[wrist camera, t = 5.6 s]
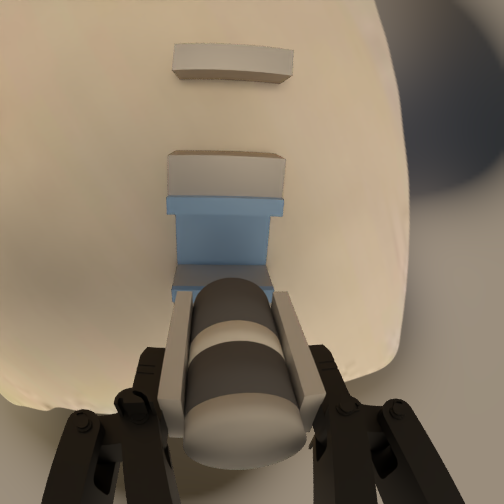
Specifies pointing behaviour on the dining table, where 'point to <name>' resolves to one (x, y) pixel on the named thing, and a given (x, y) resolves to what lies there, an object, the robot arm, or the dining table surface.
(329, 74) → the dining table surface
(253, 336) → the plug
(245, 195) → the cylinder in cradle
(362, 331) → the dining table surface
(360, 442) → the robot arm
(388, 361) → the dining table surface
